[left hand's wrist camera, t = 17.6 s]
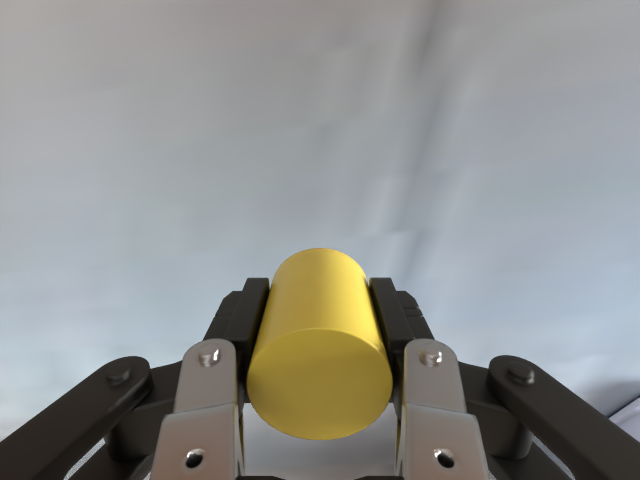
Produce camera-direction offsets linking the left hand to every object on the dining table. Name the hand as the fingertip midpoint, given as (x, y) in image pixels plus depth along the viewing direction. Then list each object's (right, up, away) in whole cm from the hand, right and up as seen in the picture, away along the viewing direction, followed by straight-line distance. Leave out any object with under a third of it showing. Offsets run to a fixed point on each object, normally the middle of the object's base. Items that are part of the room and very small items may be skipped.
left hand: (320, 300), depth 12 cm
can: (0, 0, +1) cm, 1 cm away
